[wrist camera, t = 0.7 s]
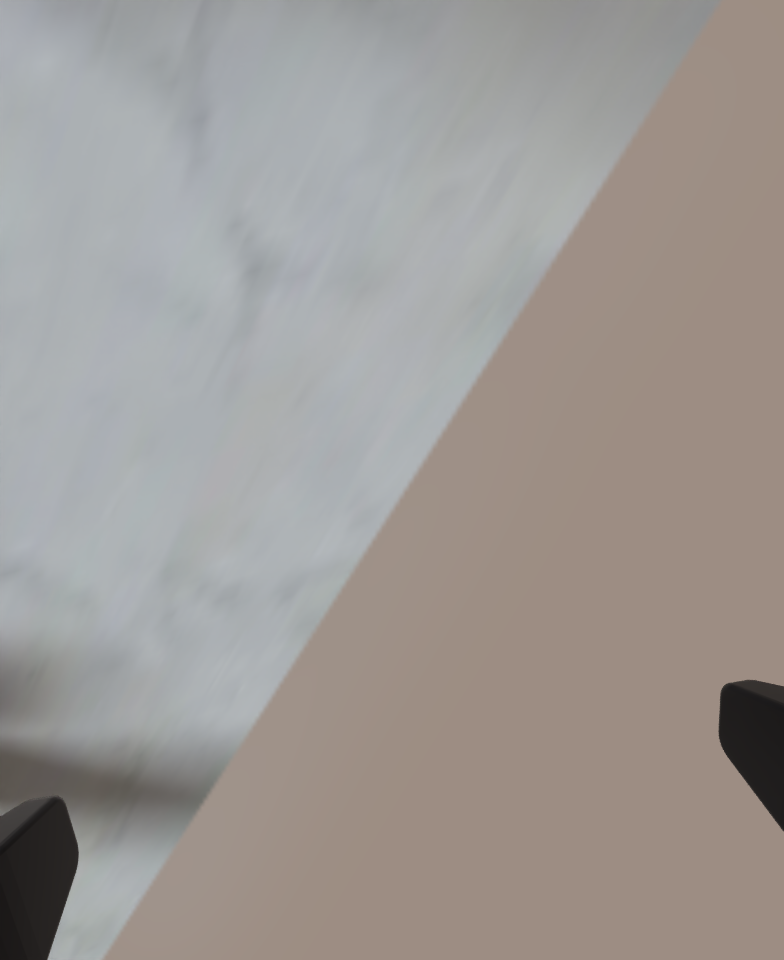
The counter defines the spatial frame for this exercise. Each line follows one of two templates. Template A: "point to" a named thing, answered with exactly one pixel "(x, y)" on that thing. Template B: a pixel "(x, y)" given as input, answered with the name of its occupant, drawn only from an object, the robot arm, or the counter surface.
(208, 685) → the counter surface
